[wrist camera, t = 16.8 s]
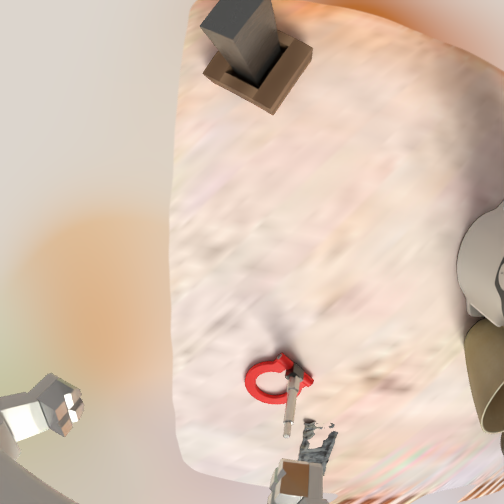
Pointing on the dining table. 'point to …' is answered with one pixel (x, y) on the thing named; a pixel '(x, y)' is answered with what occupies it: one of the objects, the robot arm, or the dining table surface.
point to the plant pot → (486, 373)
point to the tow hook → (294, 386)
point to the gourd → (502, 442)
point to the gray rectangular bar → (245, 37)
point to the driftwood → (319, 453)
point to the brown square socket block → (276, 82)
